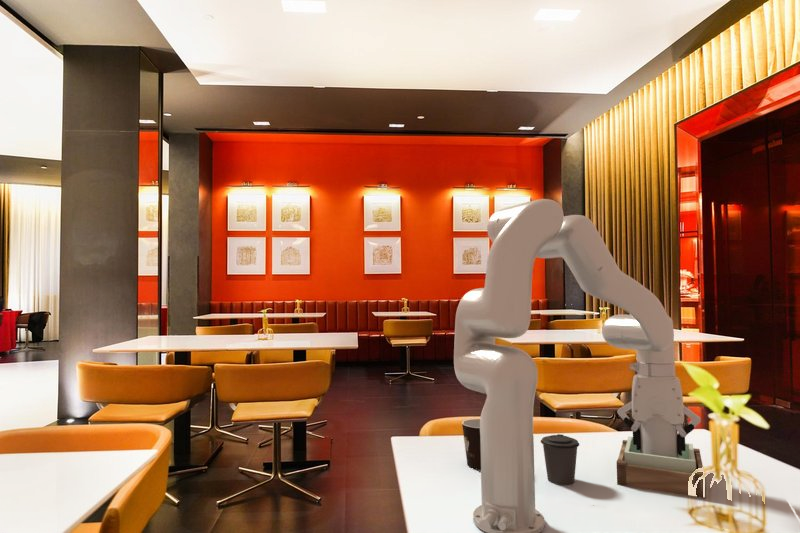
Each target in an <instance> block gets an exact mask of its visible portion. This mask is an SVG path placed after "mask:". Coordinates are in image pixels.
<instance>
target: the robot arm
mask: <svg viewBox="0 0 800 533" xmlns="http://www.w3.org/2000/svg"><path fill="white" fill-rule="evenodd" d="M486 231H487V235H488V238H489V240H490V241H491V242H492V244H491V246H490V249H489V253H488V256H487V260H486V269H485V270H486V271H485V280H484V287H479V288H473V289H471V290H469V291H467V292H466V293H465V294H464V295H463V296H462V297H461V299H460V301H459V303H458V306H457V308H456V311H455V312H456V313H455V321H454V322H455V323H454V324H455V325H454V342H453V344H454V346H453V347H454V349H453V365H454V366H453V368H454V372H455V376H456V379H457V380H458V381H459V383H460V384H461V385H462V386H463V387H464V388H466V389H468V390H470V391H474V392H478V393H481V394H485V395H486V399H485V402H484V405H483V407H482V410H481V413H480V418H479V419H480V442H481V470H480V482H481V483H480V485H481V487H480V489H481V490H480V491H481V505H479V506H477V507H476V508H475V509H474V510H473V512H472V515H473V516H472V519H473V522H474V525H475V526H476V527H477V528H478V529H480V530H481V531H482V532H485V533H541V532H543V531H544V529H545V527H546V526H545V516H544V515H543V514H542V512H540V511H539V510H537V509H536V487H535V486H536V484H535V483H536V482H535V447H534V442H535V441H534V404H535V396H536V390H537V387H538V386H537V385H538V378H539V377H538V376H539V374H538V367H537V364H536V362H535V360H534V359H533V357H532V356H531V355H530V354H528V353H527V351H525V350H523V349H521V348H518V347H515V346H512V345H511V346H510V345H505V344H504V345H503V344H498V343H497V344H496V338H500V339H517V338H520V337H522V336H523V335H525V334H526V333H527V331H528V330H529V329H530V328H529V327H530V324H531V317H532V316H531V315H532V288H533V286H532V285H533V284H532V283H533V271H534V270H533V269H534V263H535V260H536V258H539V259H555V258H562V259H563V260H564V262H565V263H566V265H567V267H568V268H569V270H570V271H571V274H572V275H573V276H574V279H575V280H576V282H577V284H578V285H579V287H580V289H581V290H582V291H583V292H584V293H585V294H586V295H587V294H588V295H590V296H592V297H593V298H596V299H598V300H601V301H603V302H606V303H609V304H611V305H613V306H616V307H617V308H620V309H621V310H623V311H625V312H626V313H627V314H615V315H611V316H609V317H608V318H607V319H606V320H605V321H604V323H603V324H602V327H601V334H602V337H603V339H604V341H606V343H607V344H608V345H610V346H612V347H614V348H617V349H625V350H633V351H635V352H636V362H635V363H630V364H629V369H630V371H631V370H633V371H635V372H636V374H634V375H633V378H632V383H631V384H632V385H631V401H629V402H628V403H626V404H624V405H623V406H621V407H620V408H618V409H617V410H616V413H617V415H619V417H620V418H621V419H622V421H623V423H625V425H627V426H628V428H630V430H631V431H632V437H633V445H636V447H637V450H640V431H639V426H640V422H645V420H647V419H649V418H652V417H653V415H651V414H656V415H664V416H661V418H663V419H665V420H667V421H668V422H670V423H671V425H673V426H676V429H677V431H678V436H677V437H678V455H680V456H682V451H686V450H685V443H686V437H687V436H688V434H690V433H691V432H693V430H694V429H695V428H696V427H698V425H699V424H700V423H701V421H702V420H701V416H699V415H698V414H696V413H695V412H693V411H692V410H691V409H689V408H688V407H687V406H686V405H684V399H683V389H682V384H681V380H680V378H679V377H678V376H676V364H675V362H676V361H675V340H674V339H675V331H674V322H673V319H672V318H671V317H670V316H669V315H668V313H667V311H666V309H665V308H664V305H663V304H662V302H661V301H660V299H659V298H658V297H657V296H656V295H655V294H654V293H653V292H652V291H651V290H649V288H647V287H645V286H644V285H643V284H641V283H640V282H638V281H637V280H636V279H635V278H633V277H631V276H629V275H628V274H626V273H625V272H623V271H622V270H621V269H620V267H619V266H618V264H617V262H616V260H615V259H614V257H613V255H612V254H611V252H610V250H609V248H608V246H607V245H606V244H605V241H604V239H603V238H602V236H601V234H600V233H599V231H598V229H597V227H596V226H595V224H594V223H593V222H592V220H591V219H590V218H589V217H587V216H585V215H581V214H569V215H565V216H564V210H563V207H562V205H561V204H559V203H558V202H557V201H555V200H553V199H548V198H540V199H535V200H530V201H526V202H523V203H519V204H516V205H511V206H508V207H504V208H500V209H499V210H497V211H495V212H493V213H492V215H491V216H490V217H489V219H488V221H487V226H486ZM630 410H631V416H632V419H633V420H634V421H633V420H632V419H631V418H630V417H629V416H628V415H627V412H629V411H630ZM685 416H687V417H688V418H689V419H691V420H690V421H689V422H688V423H687V424H686V425H683V424H684V422H685Z"/></svg>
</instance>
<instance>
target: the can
mask: <svg viewBox="0 0 800 533" xmlns="http://www.w3.org/2000/svg"><path fill="white" fill-rule="evenodd" d="M651 415H653V417H652V418H649V419H647V420H645V422H640V426H639V431H640V453H643V454H651V455H658V456H666V457H674V458H679V455H678V437H677V436H678V431H677V429H676V426H673V425H671V423H670V422H668V421H667V420H665V419H663V418H661V416H664V415H656V414H651Z"/></svg>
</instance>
